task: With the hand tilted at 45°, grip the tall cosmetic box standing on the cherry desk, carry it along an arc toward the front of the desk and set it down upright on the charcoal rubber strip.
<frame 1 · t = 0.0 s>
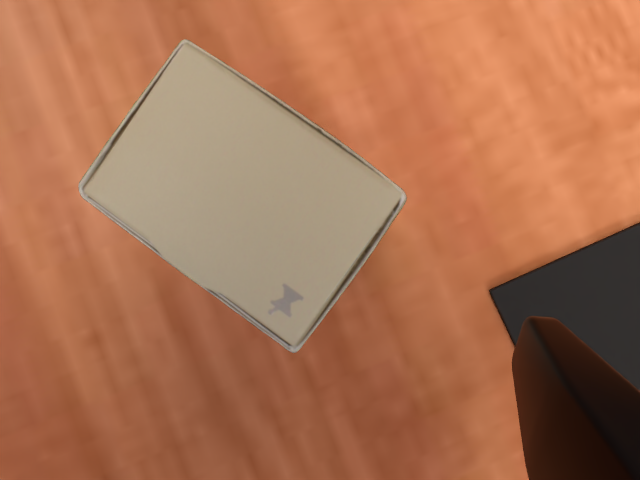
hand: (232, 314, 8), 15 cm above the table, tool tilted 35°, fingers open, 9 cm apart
cosmetic box: (304, 214, 23), on the table
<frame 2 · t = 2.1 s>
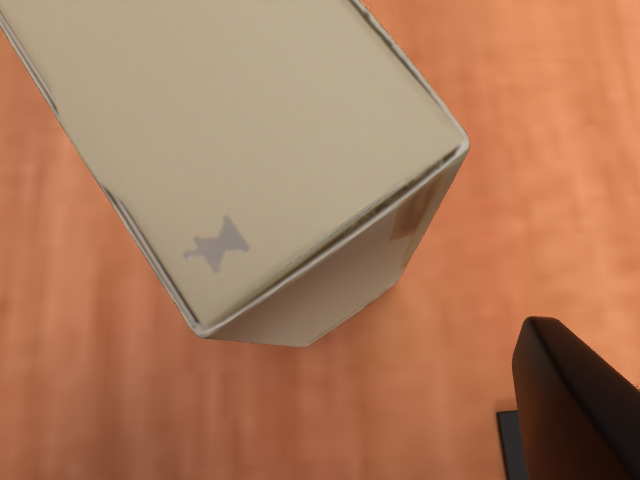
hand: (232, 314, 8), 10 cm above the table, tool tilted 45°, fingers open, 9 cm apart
cosmetic box: (302, 244, 19), on the table
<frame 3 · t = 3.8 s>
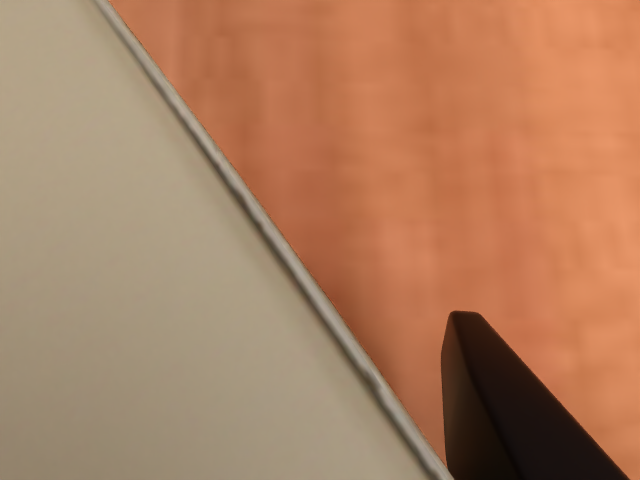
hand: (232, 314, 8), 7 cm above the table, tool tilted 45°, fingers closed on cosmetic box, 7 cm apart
cosmetic box: (282, 377, 14), on the table, touching gripper
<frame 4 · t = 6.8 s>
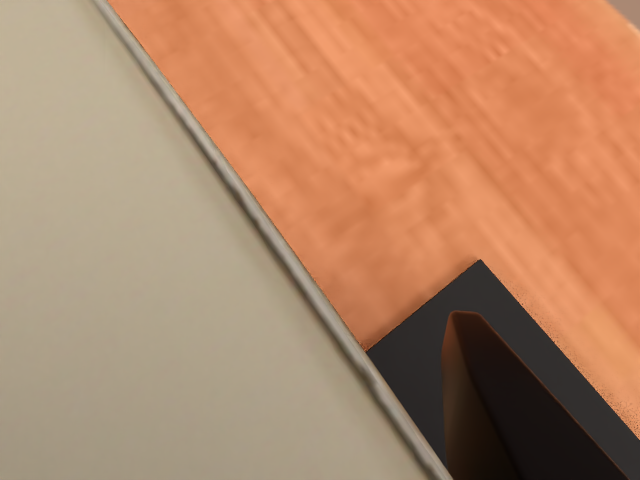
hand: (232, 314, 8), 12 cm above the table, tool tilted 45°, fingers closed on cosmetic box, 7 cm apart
cosmetic box: (282, 376, 14), point 5 cm above the table, touching gripper
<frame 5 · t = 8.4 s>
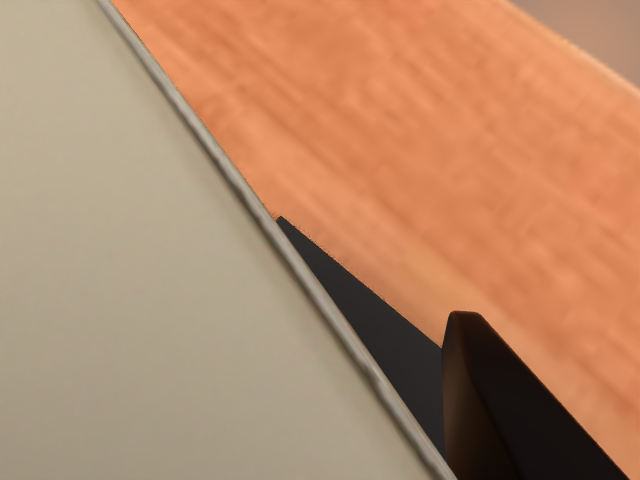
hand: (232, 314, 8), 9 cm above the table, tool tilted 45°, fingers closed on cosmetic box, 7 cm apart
cosmetic box: (282, 376, 14), point 2 cm above the table, touching gripper
when the fingers open (7 cm above the table, at t = 9.7 s): cosmetic box stays where it is, resting on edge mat.
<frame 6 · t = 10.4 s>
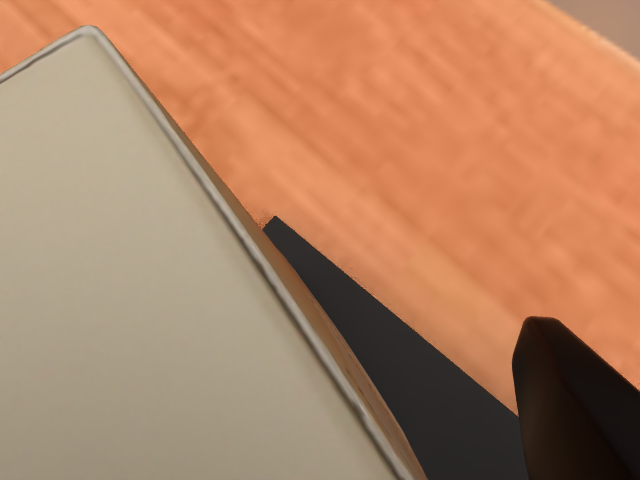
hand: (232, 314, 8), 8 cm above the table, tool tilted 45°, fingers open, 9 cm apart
cosmetic box: (285, 381, 15), resting on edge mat
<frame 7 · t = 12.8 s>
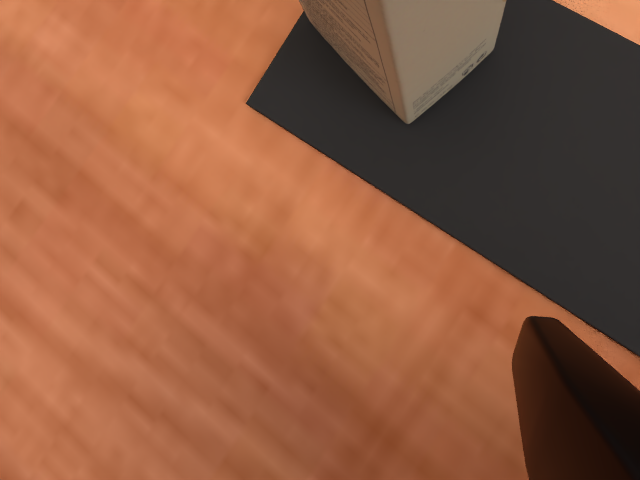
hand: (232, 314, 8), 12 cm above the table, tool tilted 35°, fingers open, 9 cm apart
cosmetic box: (395, 33, 19), resting on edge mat
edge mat: (528, 137, 18), on the table
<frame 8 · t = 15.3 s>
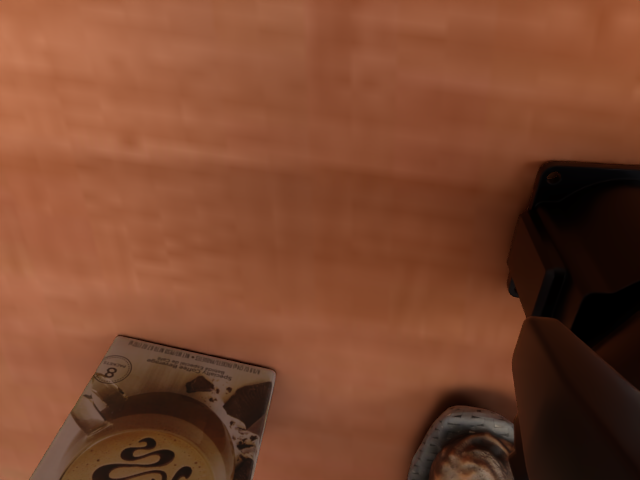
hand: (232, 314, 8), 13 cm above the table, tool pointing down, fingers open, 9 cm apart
coffee box: (194, 383, 29), on the table
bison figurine: (461, 450, 31), on the table
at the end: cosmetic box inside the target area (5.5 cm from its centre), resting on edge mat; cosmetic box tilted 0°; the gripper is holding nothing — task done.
